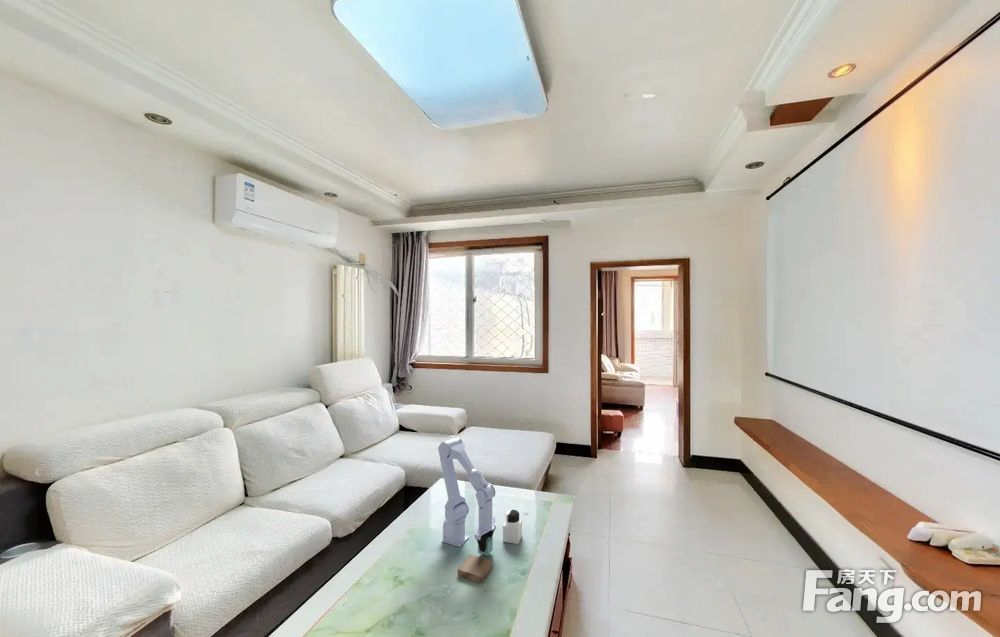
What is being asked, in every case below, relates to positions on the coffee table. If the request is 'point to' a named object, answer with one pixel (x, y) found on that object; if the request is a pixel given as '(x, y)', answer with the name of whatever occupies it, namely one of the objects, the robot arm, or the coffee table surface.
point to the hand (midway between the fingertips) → (485, 547)
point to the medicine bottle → (512, 527)
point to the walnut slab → (475, 568)
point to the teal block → (487, 547)
